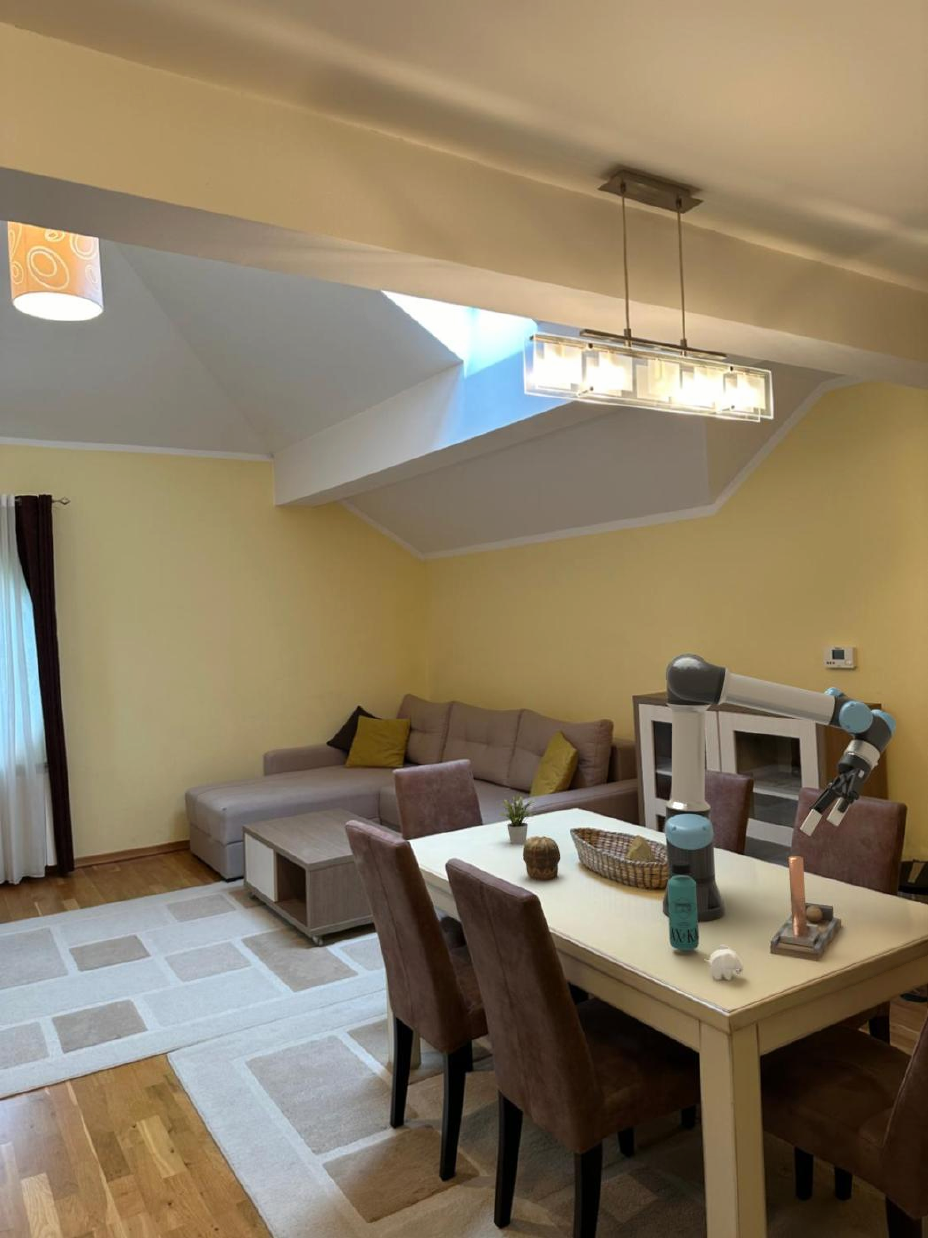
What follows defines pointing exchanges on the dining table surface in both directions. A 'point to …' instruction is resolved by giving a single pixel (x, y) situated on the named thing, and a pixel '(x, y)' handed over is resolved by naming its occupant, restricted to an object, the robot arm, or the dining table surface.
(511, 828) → the house plant
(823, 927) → the nutcracker base
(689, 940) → the beverage bottle
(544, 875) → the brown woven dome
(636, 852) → the rock
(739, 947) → the dining table surface
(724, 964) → the elephant figurine
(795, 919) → the copper post
